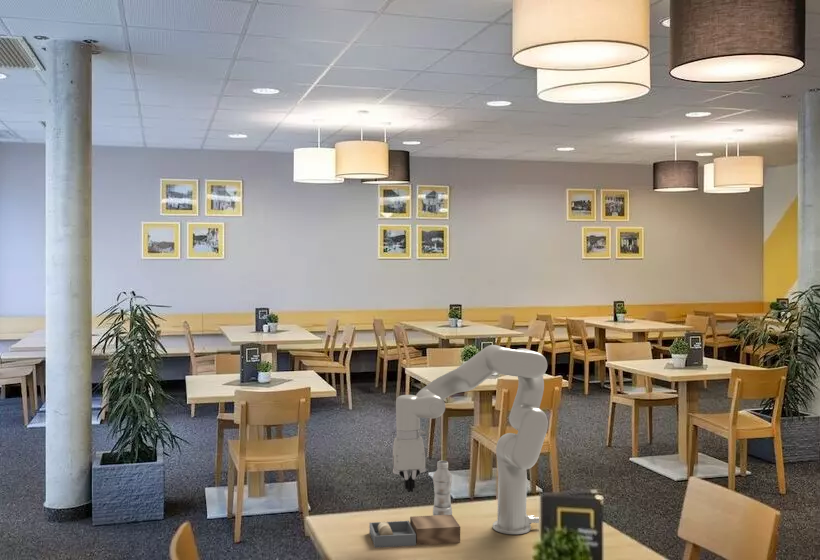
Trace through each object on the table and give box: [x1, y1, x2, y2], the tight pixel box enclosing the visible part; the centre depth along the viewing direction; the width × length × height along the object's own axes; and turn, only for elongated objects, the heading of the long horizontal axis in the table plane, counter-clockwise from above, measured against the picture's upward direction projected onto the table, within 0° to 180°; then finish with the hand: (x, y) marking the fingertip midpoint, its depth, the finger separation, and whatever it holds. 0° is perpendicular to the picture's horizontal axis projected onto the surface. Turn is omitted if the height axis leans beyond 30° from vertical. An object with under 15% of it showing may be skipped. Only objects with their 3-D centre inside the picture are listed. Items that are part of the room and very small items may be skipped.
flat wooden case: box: [409, 514, 461, 546], centre depth 264 cm, size 14×12×5 cm
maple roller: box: [377, 521, 393, 536], centre depth 261 cm, size 4×8×4 cm
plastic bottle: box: [432, 460, 453, 516], centre depth 280 cm, size 6×7×20 cm
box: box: [369, 520, 417, 549], centre depth 261 cm, size 13×13×4 cm
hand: (409, 490), depth 262 cm, fingers closed
